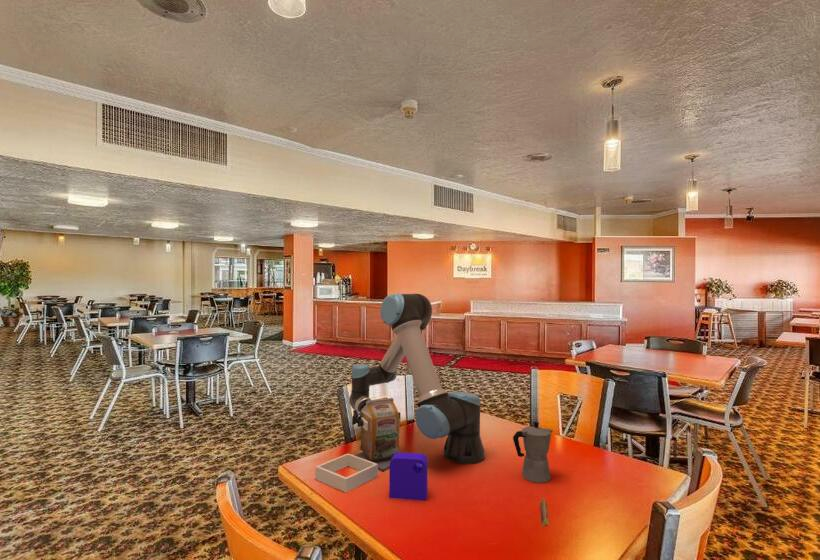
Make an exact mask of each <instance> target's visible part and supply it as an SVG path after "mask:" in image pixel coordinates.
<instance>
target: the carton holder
mask: <svg viewBox="0 0 820 560" xmlns="http://www.w3.org/2000/svg"><path fill="white" fill-rule="evenodd" d="M354 455H355V454H351V453H345V454H343V455H341V456H338V457H336V458H333V459H331V460H329V461H326V462H323V463H321V464H319V465H316V466H315V472H314V473H315V474H314V475H315V477H314V479H315V480H316V481H319V482H320V483H323V484H326V485H327V486H330V487H331V488H335V489H336V490H339V491H341V492H343V493H348V492H350V491H352V490H354V489H356V488H358V487H359V486H362V485H363V484H366V483H368V482H370V481H372V480H374V479H376V478H377V477H378V476H379V470H378V464H376V463H373V462H371V461H368V460H365V459H362V458H359V457H357V456H354ZM348 466H349V467H348ZM347 467H348V468H350V469H351V468H352V469H354V470H356V471H357V472H355V473H353V474H351V475H349V476H347V477H346V476H344V475H341V474H339V473H336V472H338V471H340V469H341V470H342V469H344V468H347Z"/></svg>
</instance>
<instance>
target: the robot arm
mask: <svg viewBox="0 0 820 560" xmlns="http://www.w3.org/2000/svg"><path fill="white" fill-rule="evenodd" d="M379 311H380V312H379V314H380V319H381V321H382V322H383V324H385V325H387V326H390V327H391V330H392V333H393V334H395V335H396V336H395V338H394V339H393V340H392V342H391V344H390V346H389V347H388V349H387V351H386V353H385V354H384V355H383V358H382V359H381V361H380V363H379V364H378V365H377V366H373V367H370V365H369V364H366V363H359V364H358V363H357V364H354V365H352V368H351V376H350V377H351V394H350V395H349V398H348V403H349V405H350V406H351V408H352V409H353V412H352V418H351V419H352V420H351V424H352V425H354V426H355V425H356V424H357V428H358V427H359V428H361V426H362V427H363V428H364V429H365V430H366V431H368V422H367V421H366V420H365V419H364V418H363V417H361V410H362V409H363V407H364V406H366V402H367V401H370V400H372V399H371V398H370V387H372V386H375V385H382V384H389V383H390V382H394V381H395V380H396V378H397V374H398V372H397V370H398V369H397V368H398V367H399V365H400V364H401V362H402V361H403V359H404V357H405V359H406V362H407V365H408V367H409V368H408V369H409V371H410V373H411V374H410V375H411V376H412V377H411V378H412V380H413V382H414V385H415V387H416V391H417V395H418V397H419V398H418V400H417V402H416V404H417V407H418V408H417V409H416V410H415V411H416V412H415V418H414V419H415V423H416V426H417V428H418V430H419V431H420V432H421V434H422V435H423V436H425V437H426V438H427V439H432V440H437V439H443V438H446V440H445V443H444V446H443V449H442V450H443V451H442V453H443V457H444V459H446V460H447V461H450V462H453V463H458V464H463V465H464V464H466V465H467V464H468V465H469V464H471V465H472V464H477V463H480V462H482V461H483V460H484V459H485V458H486V457H485V455H486V454H485V452H486V451H485V448H484V444H483V441H482V437H481V399H480V396H478V394H475V393H471V392H466V391H457V390H455V391H447V390H446V389H443V388H442V385H441V382H440V379H439V376H438V374H437V372H436V368H435V366H434V363H433V360H432V358H431V355H430V353H429V350H428V347H427V344H426V341H425V337H424V335H423V333H422V331H424V330H426V328H427V326H428V325H429V323H430V322H431V321H430V320H431V319H432V315H433V306H432V303H431V301H430V300H429V298H428V297H426V296H425V295H424V294H421V293H400V292H398V293H397V292H396V293H390V294H389V295H386V297H384V299H383V300H382V302H381V306H380V310H379ZM398 412H399V411H398ZM400 427H401V412H399V428H400Z"/></svg>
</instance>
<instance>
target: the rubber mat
mask: <svg viewBox="0 0 820 560" xmlns="http://www.w3.org/2000/svg"><path fill="white" fill-rule="evenodd" d="M353 455H354V456H357V457H359V458H362V459H365V460H368V461H371V462H373V463H376V464H378V471H380V472H385V471H387V470H390V462H391V459H392V457H393V456H391V457H386V458H380V459H375V460H371V459H370V458H369V457H368V456H367V455H366V454H364V453H363V452H362V451H361V452H360V453H357V454H353Z"/></svg>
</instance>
